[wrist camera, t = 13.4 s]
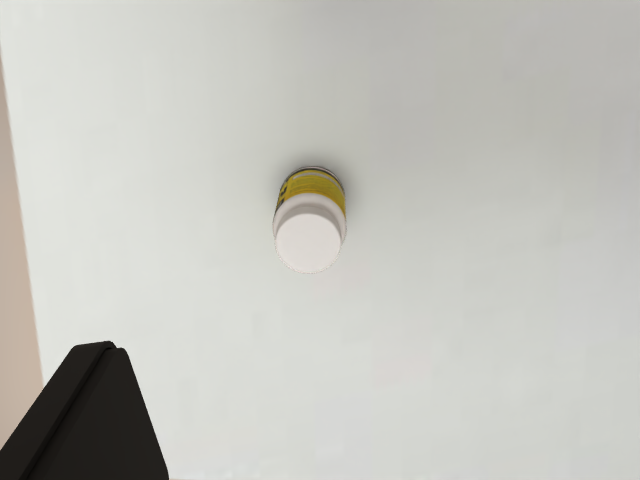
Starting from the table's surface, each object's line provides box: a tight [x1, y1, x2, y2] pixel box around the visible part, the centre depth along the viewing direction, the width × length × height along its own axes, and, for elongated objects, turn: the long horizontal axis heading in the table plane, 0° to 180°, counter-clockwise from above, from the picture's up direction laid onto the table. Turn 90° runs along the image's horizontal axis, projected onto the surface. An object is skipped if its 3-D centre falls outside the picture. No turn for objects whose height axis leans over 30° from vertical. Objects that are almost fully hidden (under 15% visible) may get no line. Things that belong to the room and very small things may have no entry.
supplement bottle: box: [273, 167, 347, 273], centre depth 40 cm, size 5×5×8 cm
